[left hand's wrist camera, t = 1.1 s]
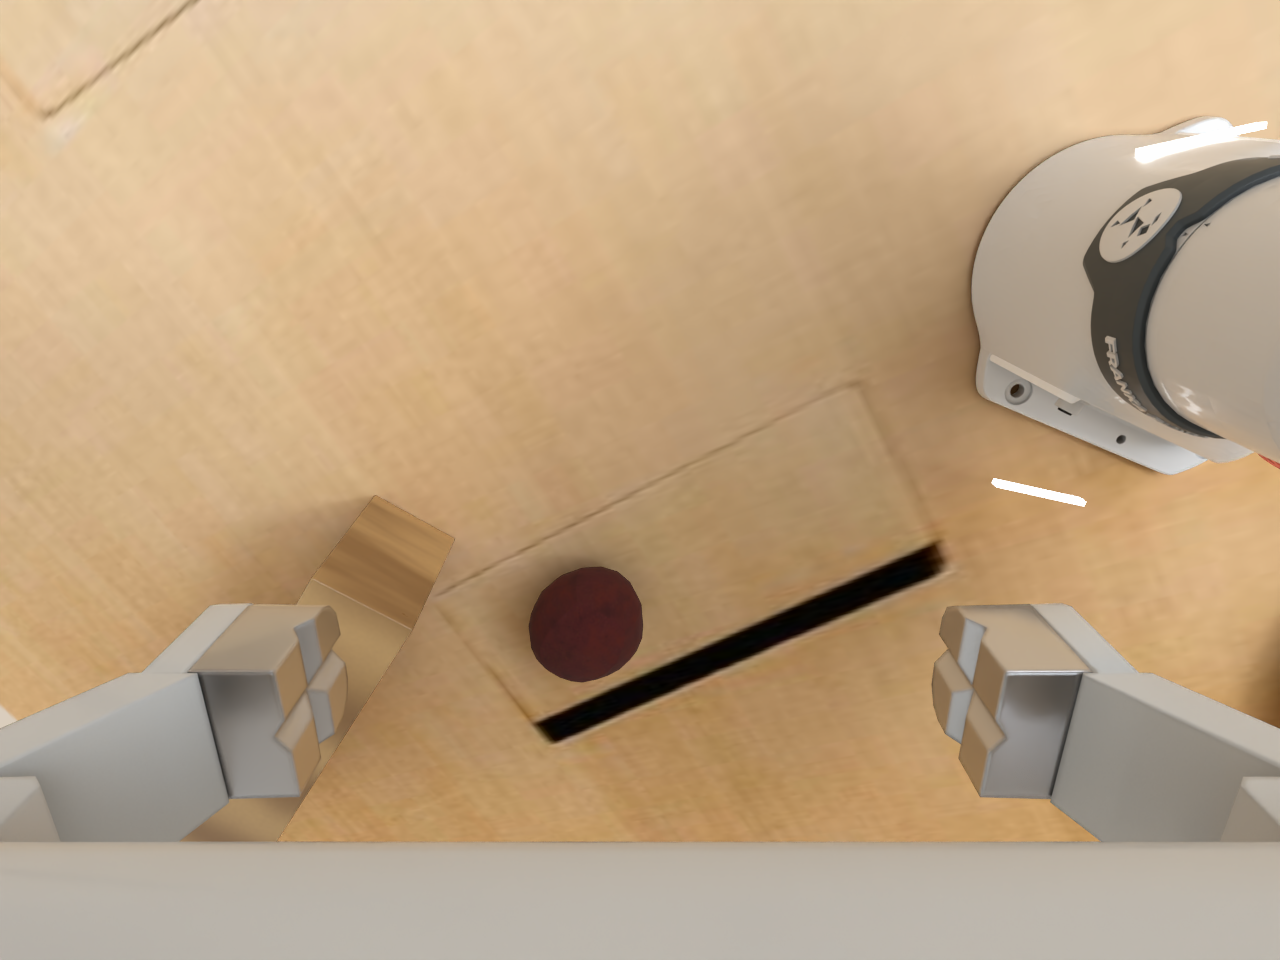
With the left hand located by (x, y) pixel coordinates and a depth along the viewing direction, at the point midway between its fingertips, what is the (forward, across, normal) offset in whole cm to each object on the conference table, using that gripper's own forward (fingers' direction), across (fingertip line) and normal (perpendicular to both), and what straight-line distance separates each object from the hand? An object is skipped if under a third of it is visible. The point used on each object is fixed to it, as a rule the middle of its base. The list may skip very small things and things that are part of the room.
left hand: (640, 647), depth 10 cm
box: (+38, -22, -26) cm, 51 cm away
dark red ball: (+38, -3, -21) cm, 44 cm away
